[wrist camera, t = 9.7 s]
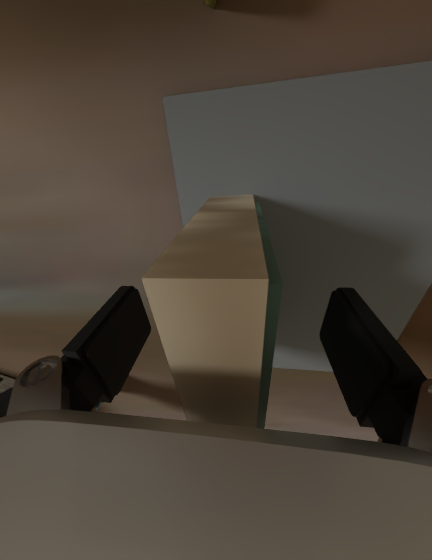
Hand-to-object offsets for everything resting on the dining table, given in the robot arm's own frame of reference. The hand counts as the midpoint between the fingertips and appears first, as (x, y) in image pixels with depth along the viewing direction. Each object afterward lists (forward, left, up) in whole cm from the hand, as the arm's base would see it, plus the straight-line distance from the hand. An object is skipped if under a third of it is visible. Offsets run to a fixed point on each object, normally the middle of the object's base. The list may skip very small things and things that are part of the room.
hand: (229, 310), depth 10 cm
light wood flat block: (0, 0, -3) cm, 3 cm away
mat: (0, +4, -4) cm, 6 cm away
